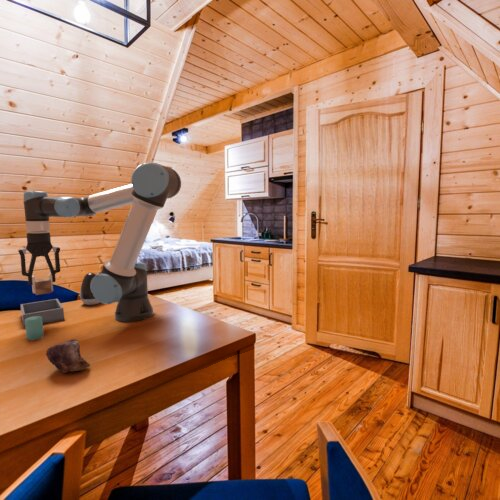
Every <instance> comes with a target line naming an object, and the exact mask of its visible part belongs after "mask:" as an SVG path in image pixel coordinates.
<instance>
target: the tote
mask: <svg viewBox="0 0 500 500" xmlns="http://www.w3.org/2000/svg"><path fill="white" fill-rule="evenodd" d="M19 306H20V312H21V320H22V325H23V328H26V327H25V319H26V318H29V317H34V316H41V317H42V323H43V324H49V323H55V322H59V321H65V312H64V311H65V310H64V307H63V304H62V303H61V302H60V300H59V299H58V298H54V299H48V300H41V301H33V302H27V303H20V305H19Z"/></svg>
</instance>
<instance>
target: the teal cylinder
mask: <svg viewBox="0 0 500 500" xmlns="http://www.w3.org/2000/svg"><path fill="white" fill-rule="evenodd" d="M24 328H25V334H26V335H25V336H26V340H27V341H35V340H40V339H42V338H43V337H45V335H44V325H43V323H42V317H41V316H34V317H29V318H26V319H25V327H24Z"/></svg>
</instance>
